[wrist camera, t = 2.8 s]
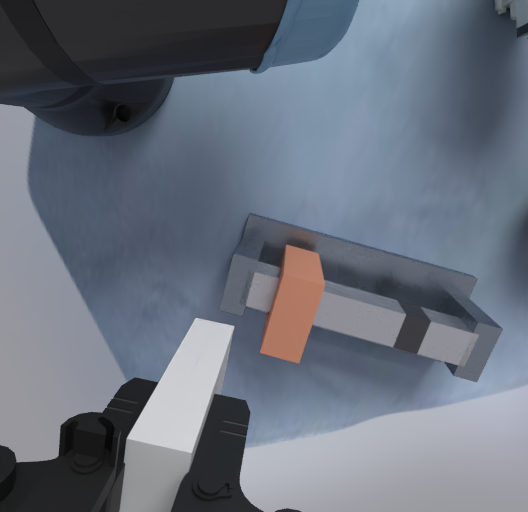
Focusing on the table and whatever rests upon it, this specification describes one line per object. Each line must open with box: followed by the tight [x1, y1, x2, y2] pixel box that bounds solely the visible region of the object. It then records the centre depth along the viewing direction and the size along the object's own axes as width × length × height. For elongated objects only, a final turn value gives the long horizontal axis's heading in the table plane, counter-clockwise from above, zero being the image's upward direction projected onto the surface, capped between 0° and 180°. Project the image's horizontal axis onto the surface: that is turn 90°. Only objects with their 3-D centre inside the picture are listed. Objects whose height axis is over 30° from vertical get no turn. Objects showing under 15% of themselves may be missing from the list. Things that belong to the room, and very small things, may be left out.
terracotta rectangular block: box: [260, 244, 325, 364], centre depth 33 cm, size 3×6×8 cm, turn 165°
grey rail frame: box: [219, 213, 503, 382], centre depth 36 cm, size 22×9×8 cm, turn 75°
